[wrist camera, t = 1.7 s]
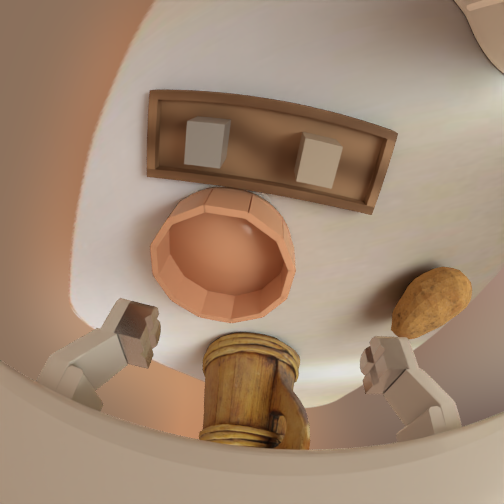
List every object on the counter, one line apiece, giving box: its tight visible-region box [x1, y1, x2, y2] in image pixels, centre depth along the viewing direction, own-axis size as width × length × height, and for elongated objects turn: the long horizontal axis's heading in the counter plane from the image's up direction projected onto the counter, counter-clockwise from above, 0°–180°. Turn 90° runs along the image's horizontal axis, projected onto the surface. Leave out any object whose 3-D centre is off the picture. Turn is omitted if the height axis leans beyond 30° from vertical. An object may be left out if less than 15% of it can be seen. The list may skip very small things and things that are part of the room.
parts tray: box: [147, 90, 398, 215], centre depth 27 cm, size 10×26×2 cm, turn 82°
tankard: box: [199, 332, 310, 450], centre depth 39 cm, size 18×24×25 cm
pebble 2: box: [294, 132, 343, 189], centre depth 26 cm, size 4×4×4 cm
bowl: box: [150, 187, 296, 323], centre depth 34 cm, size 17×17×6 cm
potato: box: [391, 267, 472, 339], centre depth 34 cm, size 10×14×8 cm
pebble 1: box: [184, 116, 231, 169], centre depth 26 cm, size 4×4×4 cm
